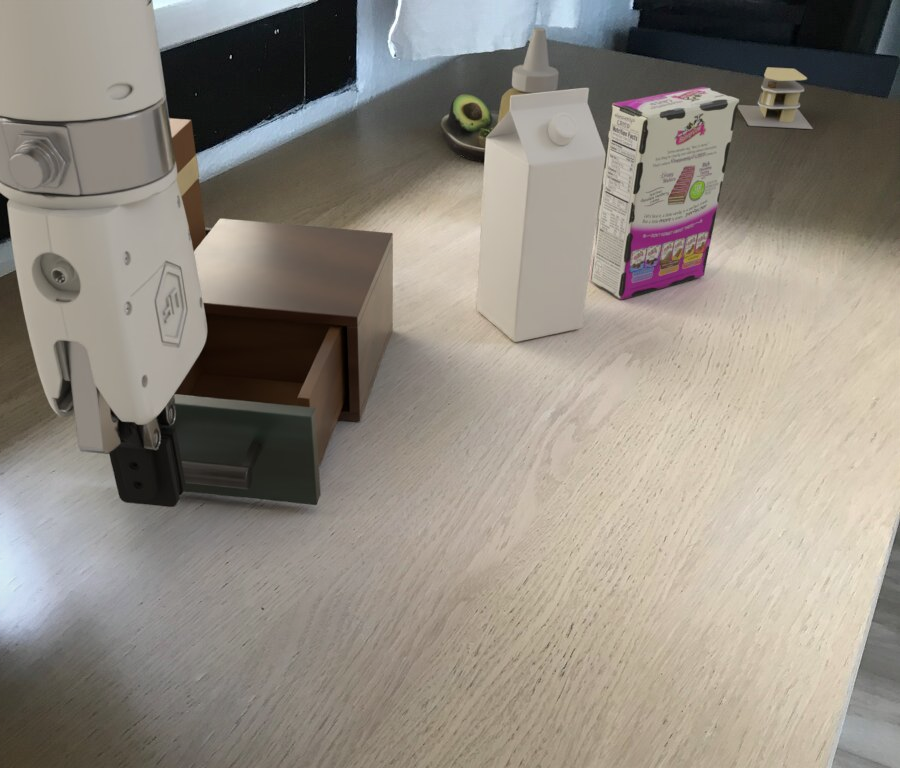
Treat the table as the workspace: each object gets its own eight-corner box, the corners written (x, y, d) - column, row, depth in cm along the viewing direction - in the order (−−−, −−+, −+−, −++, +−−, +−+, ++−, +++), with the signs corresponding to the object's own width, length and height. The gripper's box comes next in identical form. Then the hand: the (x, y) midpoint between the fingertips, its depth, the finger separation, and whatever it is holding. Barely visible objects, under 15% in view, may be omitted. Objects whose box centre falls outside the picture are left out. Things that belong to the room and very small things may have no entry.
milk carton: (474, 310, 90) (488, 83, 77) (540, 297, 93) (564, 76, 80) (513, 344, 85) (534, 109, 73) (582, 329, 88) (614, 100, 75)
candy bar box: (670, 260, 100) (703, 84, 89) (704, 278, 97) (744, 98, 86) (585, 282, 96) (610, 99, 85) (619, 302, 92) (649, 115, 82)
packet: (143, 277, 91) (119, 140, 83) (168, 247, 96) (147, 116, 88) (186, 280, 91) (166, 144, 83) (209, 250, 96) (192, 119, 88)
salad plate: (566, 118, 135) (570, 81, 132) (611, 161, 122) (617, 122, 119) (429, 122, 131) (430, 85, 128) (461, 167, 119) (463, 127, 116)
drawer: (302, 544, 62) (295, 454, 58) (97, 523, 63) (74, 432, 58) (357, 396, 76) (355, 313, 72) (189, 380, 77) (176, 297, 72)
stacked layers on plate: (735, 105, 143) (744, 63, 140) (797, 108, 143) (807, 66, 140) (748, 125, 136) (758, 82, 132) (813, 129, 136) (824, 86, 132)
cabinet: (360, 422, 75) (357, 316, 69) (173, 404, 76) (156, 298, 70) (392, 329, 87) (392, 232, 81) (231, 314, 87) (219, 218, 82)
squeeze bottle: (524, 195, 113) (540, 16, 101) (575, 216, 108) (597, 32, 96) (471, 209, 109) (481, 25, 97) (521, 233, 104) (538, 42, 92)
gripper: (100, 214, 36) (176, 592, 48) (219, 101, 47) (256, 431, 59) (-97, 198, 36) (28, 576, 49) (68, 90, 47) (136, 419, 60)
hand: (153, 495), depth 54 cm, fingers closed
